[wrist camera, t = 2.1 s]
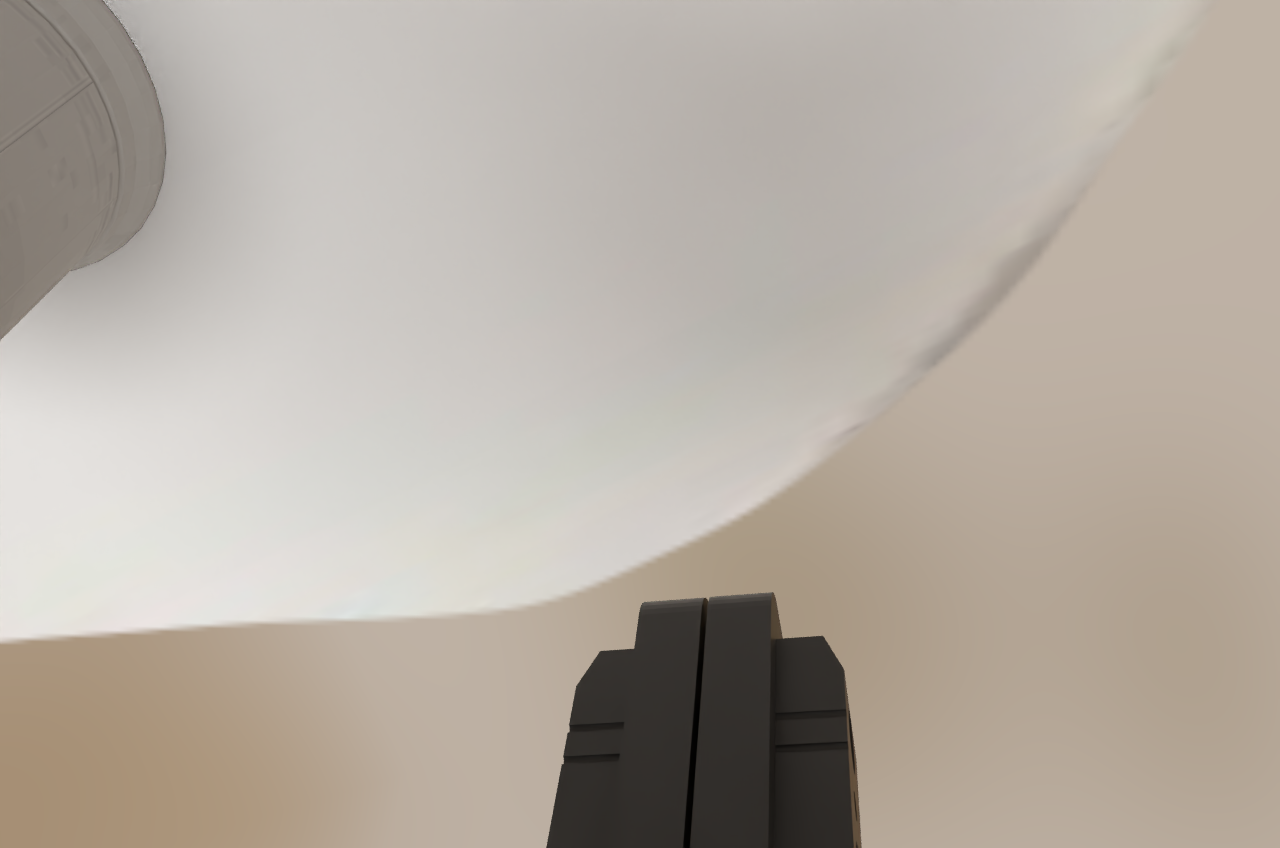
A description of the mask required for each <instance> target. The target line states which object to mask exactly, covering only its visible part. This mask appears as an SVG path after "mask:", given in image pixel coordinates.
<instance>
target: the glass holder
mask: <svg viewBox="0 0 1280 848" xmlns="http://www.w3.org/2000/svg"><path fill="white" fill-rule="evenodd" d="M165 155H166V148H165V137H164V125H163V118H162V115H161V111H160V107H159V103H158V99H157V95H156V92H155V88H154V86H153V83H152V81H151V79H150V76H149V74H148V72H147V70H146V67H145V65H144V63H143V60H142V58H141V56H140V54H139V52H138V51H137V49H136V47H135V46H134V44H133V43H132V41H131V39H130V38H129V36H128V34H127V33H126V31H125V30H124V28H123V26H122V25H121V23H120V22H119V20H118V19H117V18H116V17H115V16H114V14H113V13H112V12H111V11H110V9H109V8H108V7H107V6H106V5H105V3H104V2H103V1H102V0H0V340H1V339H2V338H3V337H4V336H5V335H6V334H7V333H8V332H9V331H10V330H11V329H12V328H13V327H14V326H15V325H16V324H17V323H18V322H19V321H20V320H21V319H22V318H23V317H24V316H25V315H26V314H27V313H28V312H29V311H30V310H31V309H32V308H33V307H34V306H35V305H36V304H37V303H38V302H39V301H40V300H41V299H42V298H43V297H44V296H45V295H46V294H47V293H48V292H49V291H50V290H51V289H52V288H53V287H54V286H55V285H56V284H57V283H58V282H59V281H60V280H61V279H62V278H63V277H64V276H65V275H66V274H67V273H68V272H69V271H72V270H76V269H79V268H82V267H84V266H87V265H90V264H93V263H96V262H98V261H100V260H102V259H103V258H105V257H107V256H108V255H110V254H111V253H113V252H115V251H116V250H118V249H119V248H121V247H122V246H124V245H125V244H126V243H127V242H128V241H129V240H130V239H131V238H132V237H133V236H134V235H135V234H136V233H137V232H138V231H139V230H140V229H141V227H142V226H143V224H144V223H145V221H146V219H147V218H148V216H149V214H150V213H151V211H152V209H153V208H154V206H155V203H156V200H157V197H158V194H159V191H160V188H161V184H162V181H163V174H164V164H165Z"/></svg>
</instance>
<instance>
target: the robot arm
mask: <svg viewBox="0 0 1280 848" xmlns="http://www.w3.org/2000/svg"><path fill="white" fill-rule="evenodd" d="M569 726H570V732H569V733H568V734H567V740H566V745H565V750H564V756H563V757H564V764H562V767H561V772H560V777H559V783H558V788H557V793H556V799H555V804H554V810H553V815H552V820H551V826H550V832H549V836H548V842H547V847H546V848H861V832H860V831H861V830H860V815H859V798H858V781H857V765H856V755H855V747H854V740H853V733H852V725H851V718H850V711H849V704H848V696H847V688H846V681H845V673H844V669H843V667H842V666H841V664H840V662H839V661H838V659H837V658H836V656H835V654H834V653H833V651H832V650H831V648H830V646H829V645H828V643H827V642H826V640H825V638H824V637H823V636H816V637H815V636H814V637H799V638H785V639H783V638H782V632H781V626H780V620H779V614H778V609H777V603H776V598H775V595H774V593H773V592H772V593H758V594H744V595H731V596H717V597H710V598H709V601H708V600H707V599H706V598H695V599H682V600H669V601H654V602H644V603H642V605H641V608H640V612H639V619H638V627H637V634H636V641H635V648H634V649H625V650H610V651H600V652H599V654H598V655H597V657H596V658H595V660H594V661H593V663H592V664H591V666H590V667H589V669H588V670H587V671H586V673H585V674H584V676H583V677H582V679H581V680H580V682H579V683H578V685H577V686H576V691H575V696H574V702H573V707H572V712H571V718H570V723H569Z"/></svg>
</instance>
